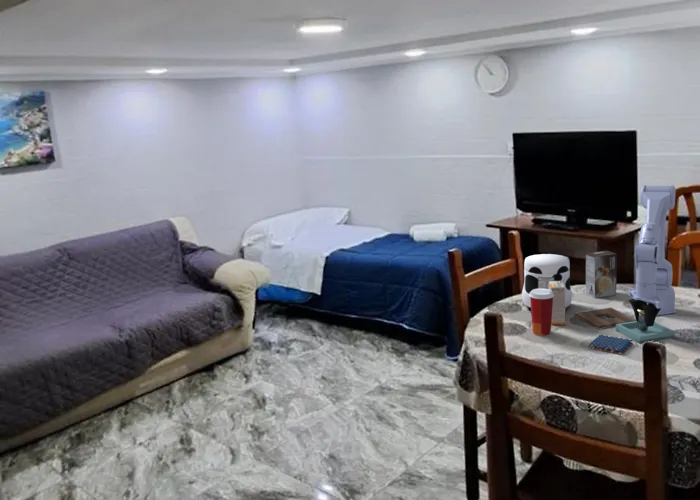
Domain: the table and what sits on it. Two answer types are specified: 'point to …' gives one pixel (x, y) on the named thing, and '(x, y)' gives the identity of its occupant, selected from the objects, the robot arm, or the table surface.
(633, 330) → the teal tray
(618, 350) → the woven mat
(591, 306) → the table surface
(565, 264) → the milk container
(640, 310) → the gunmetal pin
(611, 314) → the walnut socket
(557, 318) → the supplement box
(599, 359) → the table surface
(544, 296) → the paper cup
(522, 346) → the table surface
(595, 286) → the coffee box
